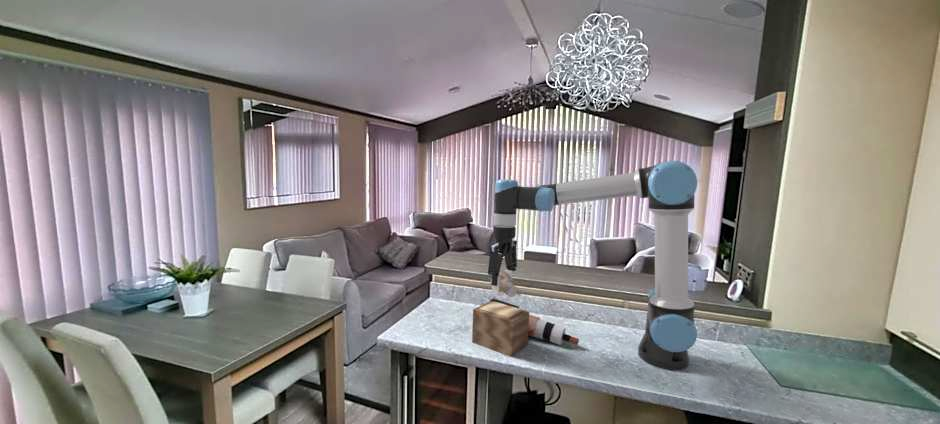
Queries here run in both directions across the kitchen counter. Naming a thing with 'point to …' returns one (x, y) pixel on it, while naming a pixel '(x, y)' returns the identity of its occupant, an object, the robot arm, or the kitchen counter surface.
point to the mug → (507, 285)
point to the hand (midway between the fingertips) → (501, 291)
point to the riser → (500, 327)
